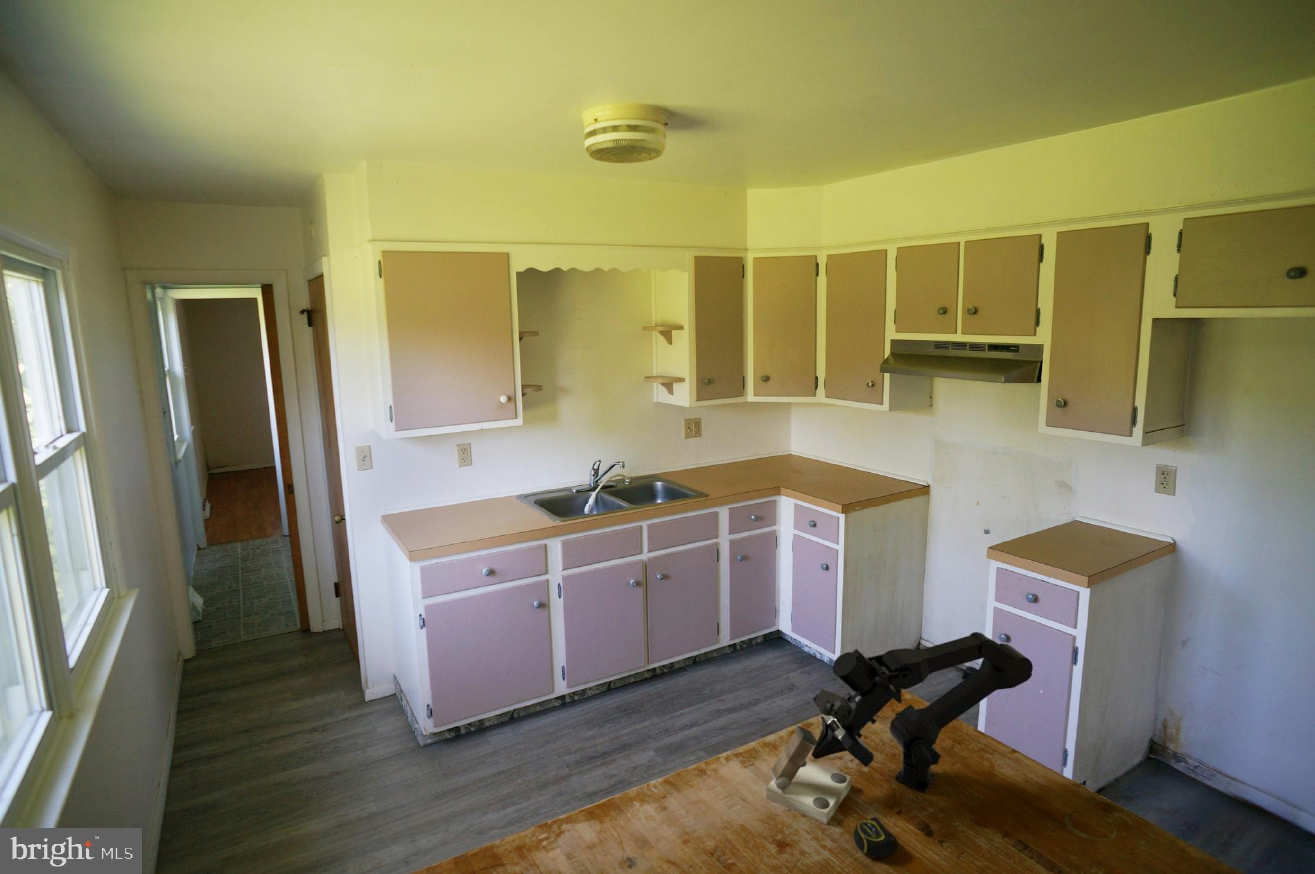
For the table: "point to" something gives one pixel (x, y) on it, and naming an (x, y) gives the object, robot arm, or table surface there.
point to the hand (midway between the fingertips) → (813, 757)
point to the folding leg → (792, 757)
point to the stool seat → (812, 791)
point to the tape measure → (874, 838)
